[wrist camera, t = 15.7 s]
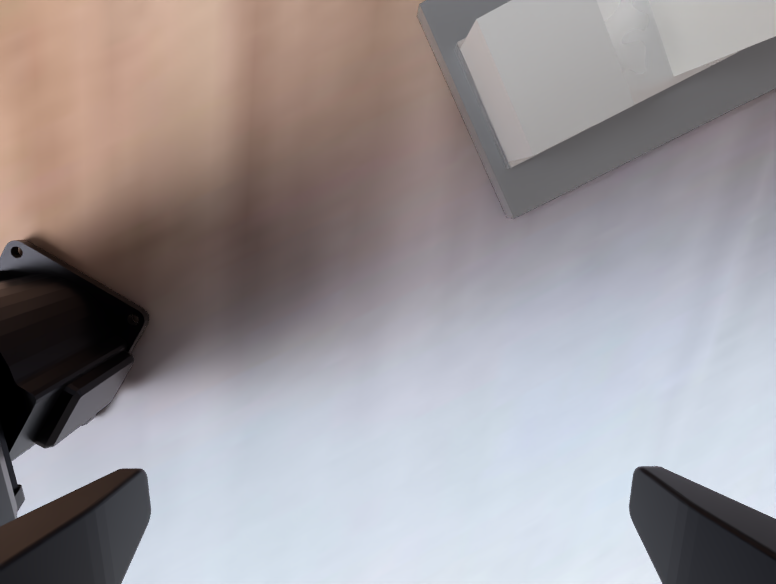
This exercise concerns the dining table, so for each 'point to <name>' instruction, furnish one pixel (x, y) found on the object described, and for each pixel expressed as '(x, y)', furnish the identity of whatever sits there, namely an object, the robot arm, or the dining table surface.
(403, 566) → the dining table surface
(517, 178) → the rail board
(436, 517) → the dining table surface
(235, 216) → the dining table surface
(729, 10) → the block
